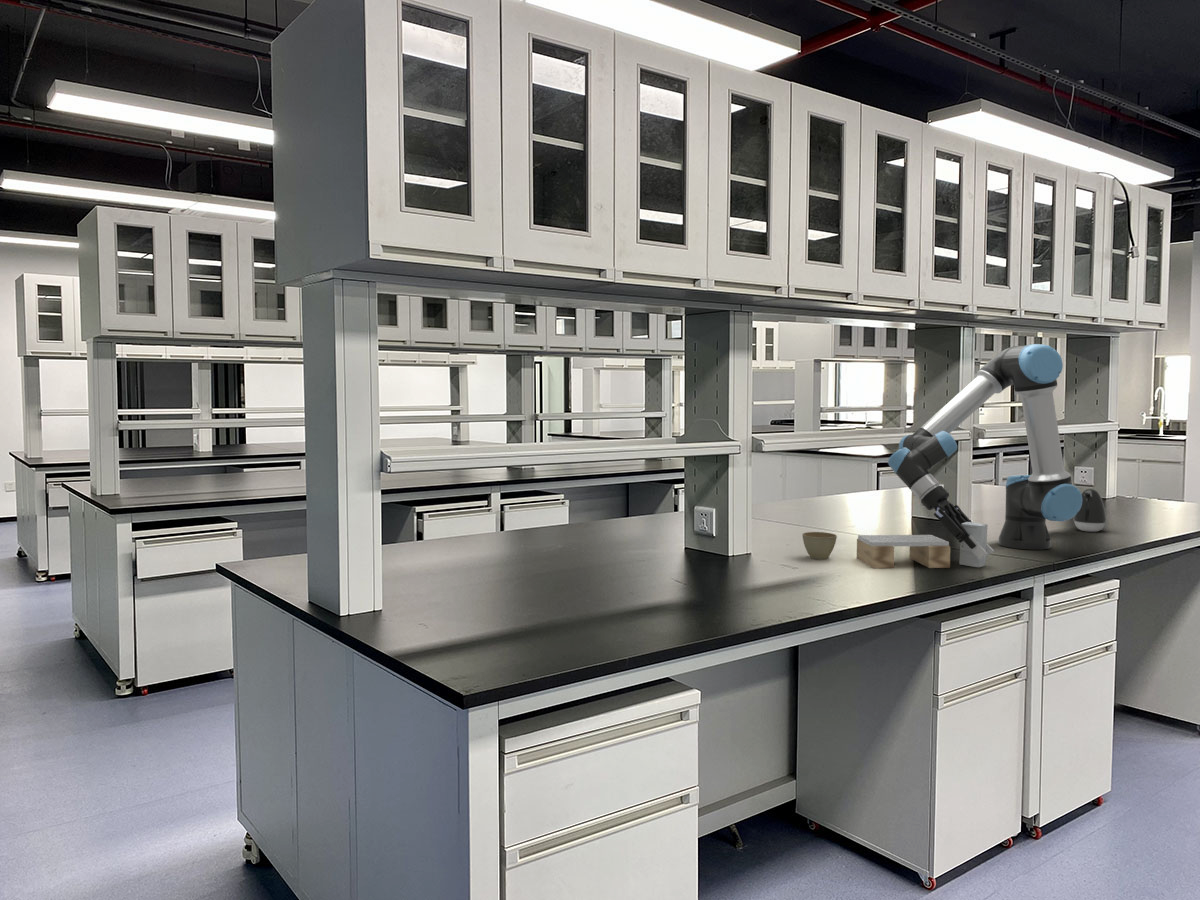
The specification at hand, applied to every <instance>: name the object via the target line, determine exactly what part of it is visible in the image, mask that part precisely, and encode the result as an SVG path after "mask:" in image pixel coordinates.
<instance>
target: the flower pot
mask: <svg viewBox="0 0 1200 900" xmlns="http://www.w3.org/2000/svg"><path fill="white" fill-rule="evenodd" d="M837 537H838V536H837V534H836V533H831V532H826V531H825V532H824V531H807V532H803V533H802V541H803V545H804V548H805V550H806V552H807V555H808V557H809V558H810V559H813V560H819V561H820V560H823V561H824V560H828V558H829V557H830V556H831V554H832V552H833V550H834V549H835V545H836V542H837Z"/></svg>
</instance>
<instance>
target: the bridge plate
mask: <svg viewBox="0 0 1200 900" xmlns="http://www.w3.org/2000/svg"><path fill="white" fill-rule="evenodd" d="M857 539H859V540H860V541H862V542H864V543H866V544H868V545H870V546H872V547H877V546H893V547H910V546H950V542H949V541H947V540H945V539H943V538H940V537H937V536H935V535H933V534H888V535H887V534H871V535H870V534H869V535H868V534H862V535H861V534H858V536H857Z"/></svg>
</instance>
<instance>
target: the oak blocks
mask: <svg viewBox="0 0 1200 900" xmlns="http://www.w3.org/2000/svg"><path fill="white" fill-rule="evenodd" d="M909 559H911V560H913V561H915V562H916V563H919V564H920V565H922V566H925V567H927V568H929V569H935V568H936V569H938V568H939V569H945V568H946V569H950V568H951V546H950V545H949V546H909ZM856 560H858V561H860V562H862V563H863V564H865V565H867V566H868V567H870V568H872V569H895V546H877V547H872V546H870V545H868V544H866V543H864V542H862V541H860V540H859V539H858V538H856Z"/></svg>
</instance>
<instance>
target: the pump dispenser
mask: <svg viewBox="0 0 1200 900" xmlns="http://www.w3.org/2000/svg"><path fill="white" fill-rule="evenodd" d="M1081 494H1082V506H1081V508H1080V510H1079V512H1077V514H1076V515H1075V516H1074V517H1073V518H1072V519H1073V522H1074V525H1075V526H1076V529H1078V530H1080V531H1082V532H1088V533H1089V532H1090V533H1096V532H1099V531H1101V530H1102V529H1103V528H1104V527H1105V524H1106V523H1107V515H1106V508H1105V506H1104V501H1103V498H1102V497H1101V494H1100V493H1099V491H1097V489H1094V488H1086V489H1085V490H1083V491H1082V492H1081Z"/></svg>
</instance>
